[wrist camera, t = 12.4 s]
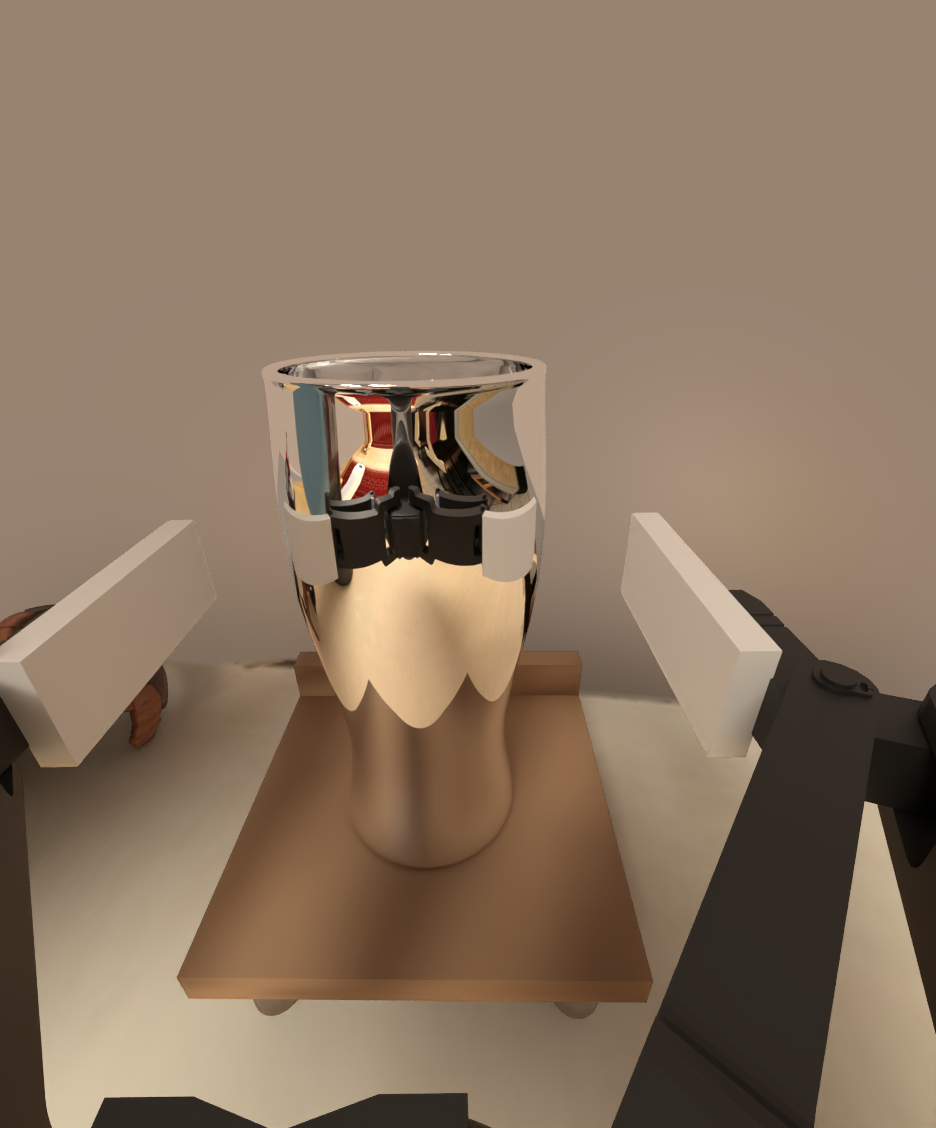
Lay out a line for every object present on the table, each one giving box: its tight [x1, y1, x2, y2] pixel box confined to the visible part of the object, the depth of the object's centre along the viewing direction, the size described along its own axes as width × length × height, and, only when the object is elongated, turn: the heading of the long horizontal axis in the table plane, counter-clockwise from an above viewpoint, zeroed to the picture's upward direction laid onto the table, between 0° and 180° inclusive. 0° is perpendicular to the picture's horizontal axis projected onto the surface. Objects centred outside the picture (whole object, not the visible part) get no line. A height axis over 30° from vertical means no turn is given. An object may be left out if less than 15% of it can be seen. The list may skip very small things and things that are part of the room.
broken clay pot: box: [0, 605, 168, 748], centre depth 25 cm, size 12×10×8 cm
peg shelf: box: [177, 651, 653, 1019], centre depth 19 cm, size 13×12×6 cm
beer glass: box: [262, 351, 547, 869], centre depth 15 cm, size 7×7×15 cm
